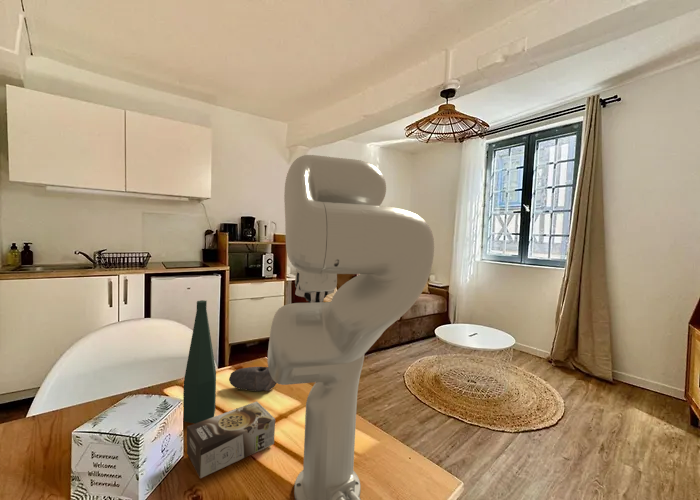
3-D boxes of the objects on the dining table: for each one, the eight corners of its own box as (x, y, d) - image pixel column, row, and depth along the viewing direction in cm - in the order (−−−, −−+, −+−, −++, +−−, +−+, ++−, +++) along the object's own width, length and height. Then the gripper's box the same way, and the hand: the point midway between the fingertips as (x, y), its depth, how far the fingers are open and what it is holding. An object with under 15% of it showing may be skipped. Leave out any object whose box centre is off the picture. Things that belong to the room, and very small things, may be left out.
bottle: (213, 403, 87) (215, 297, 85) (218, 418, 81) (221, 303, 79) (181, 411, 83) (182, 299, 81) (184, 427, 76) (185, 306, 75)
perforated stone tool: (225, 391, 94) (225, 369, 93) (233, 383, 99) (233, 361, 99) (274, 395, 93) (275, 373, 92) (279, 387, 98) (280, 365, 98)
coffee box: (275, 417, 71) (200, 449, 60) (274, 444, 71) (199, 481, 60) (256, 399, 77) (185, 425, 66) (256, 424, 78) (185, 454, 67)
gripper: (296, 247, 72) (293, 325, 74) (349, 247, 81) (346, 317, 82) (283, 244, 79) (281, 317, 80) (334, 245, 87) (331, 310, 88)
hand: (314, 317), depth 81 cm, fingers closed
